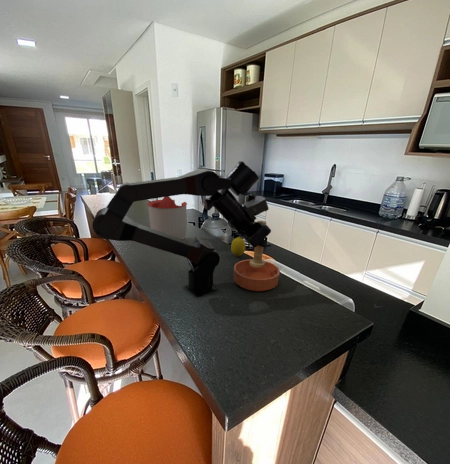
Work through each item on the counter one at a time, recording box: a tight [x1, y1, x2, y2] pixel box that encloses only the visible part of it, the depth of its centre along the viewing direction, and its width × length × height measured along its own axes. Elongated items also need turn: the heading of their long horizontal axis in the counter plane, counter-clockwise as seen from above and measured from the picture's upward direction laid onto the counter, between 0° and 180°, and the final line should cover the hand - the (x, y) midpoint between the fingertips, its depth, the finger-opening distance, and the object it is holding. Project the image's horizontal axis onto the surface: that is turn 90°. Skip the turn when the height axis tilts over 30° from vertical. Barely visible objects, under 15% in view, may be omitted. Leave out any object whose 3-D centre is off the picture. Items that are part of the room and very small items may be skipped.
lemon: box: [230, 236, 246, 258], centre depth 95 cm, size 6×6×8 cm
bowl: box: [232, 258, 281, 292], centre depth 78 cm, size 14×14×4 cm
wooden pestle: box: [250, 220, 267, 268], centre depth 74 cm, size 5×5×14 cm
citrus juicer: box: [147, 196, 188, 240], centre depth 104 cm, size 16×17×20 cm
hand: (263, 244), depth 74 cm, fingers closed on wooden pestle, 2 cm apart
